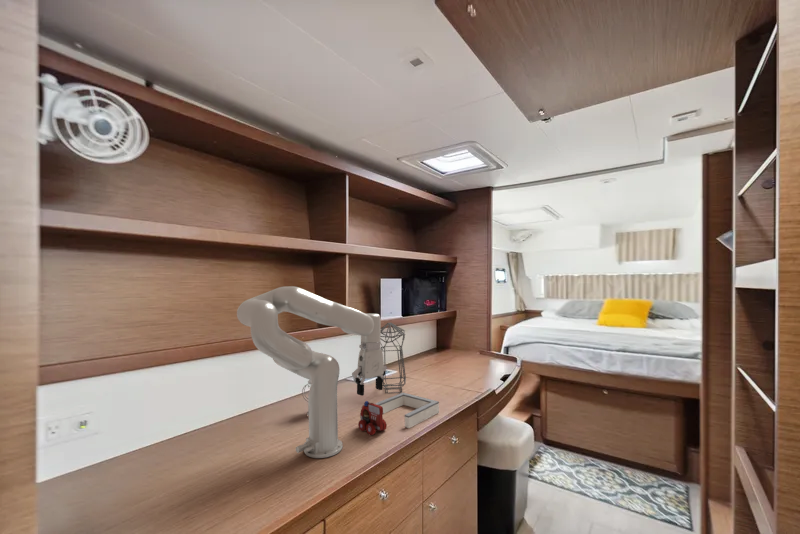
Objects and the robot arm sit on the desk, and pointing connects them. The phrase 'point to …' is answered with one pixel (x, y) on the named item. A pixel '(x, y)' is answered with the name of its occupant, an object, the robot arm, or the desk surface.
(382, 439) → the desk surface
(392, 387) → the geometric lantern
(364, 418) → the toy fire truck
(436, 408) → the white u-shaped wall
